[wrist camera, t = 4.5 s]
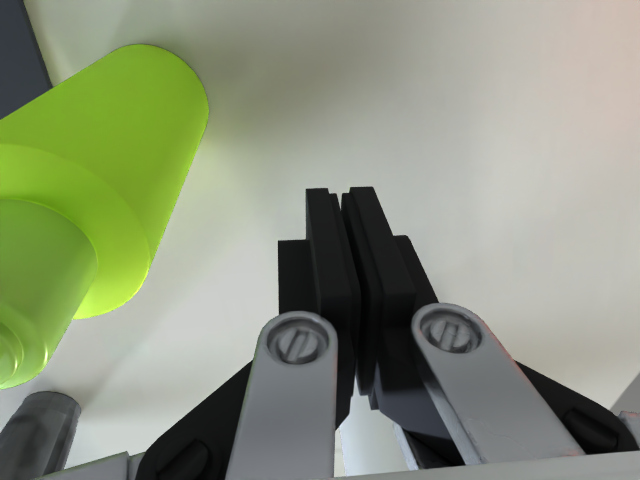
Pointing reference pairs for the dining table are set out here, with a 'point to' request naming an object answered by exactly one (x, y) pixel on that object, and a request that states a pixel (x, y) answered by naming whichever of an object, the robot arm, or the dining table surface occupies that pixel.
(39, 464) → the beverage cup
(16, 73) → the placemat
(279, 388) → the robot arm
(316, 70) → the dining table surface
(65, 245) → the soap dispenser
